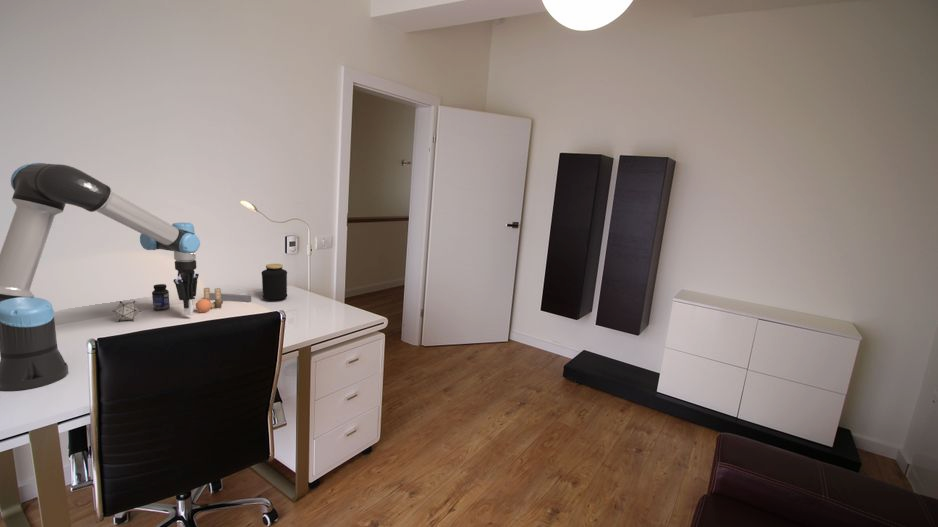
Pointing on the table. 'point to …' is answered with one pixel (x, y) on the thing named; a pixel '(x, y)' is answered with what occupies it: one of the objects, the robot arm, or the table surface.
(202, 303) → the ball
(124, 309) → the game die
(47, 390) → the table surface
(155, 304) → the pill bottle
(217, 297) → the pin
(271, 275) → the container
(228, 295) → the back wall
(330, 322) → the table surface
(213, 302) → the pin front
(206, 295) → the pin
